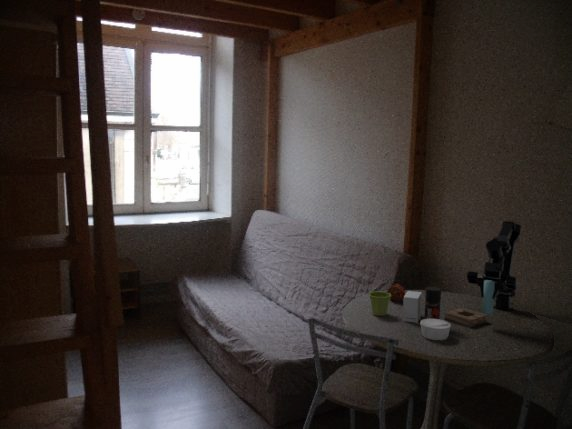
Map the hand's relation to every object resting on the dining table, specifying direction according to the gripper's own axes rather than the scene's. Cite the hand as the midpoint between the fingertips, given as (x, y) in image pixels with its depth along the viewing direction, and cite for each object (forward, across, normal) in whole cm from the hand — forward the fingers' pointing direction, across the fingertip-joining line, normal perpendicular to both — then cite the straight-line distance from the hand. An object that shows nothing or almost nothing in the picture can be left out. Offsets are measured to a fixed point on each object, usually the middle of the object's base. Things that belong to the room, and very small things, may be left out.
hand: (487, 297), depth 207 cm
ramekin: (+24, -14, -6) cm, 29 cm away
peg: (+4, 0, +6) cm, 7 cm away
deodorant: (+15, -19, +3) cm, 25 cm away
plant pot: (+14, -42, +4) cm, 45 cm away
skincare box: (+13, -29, +5) cm, 32 cm away
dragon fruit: (-3, -44, +21) cm, 49 cm away
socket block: (+6, -9, +12) cm, 16 cm away
